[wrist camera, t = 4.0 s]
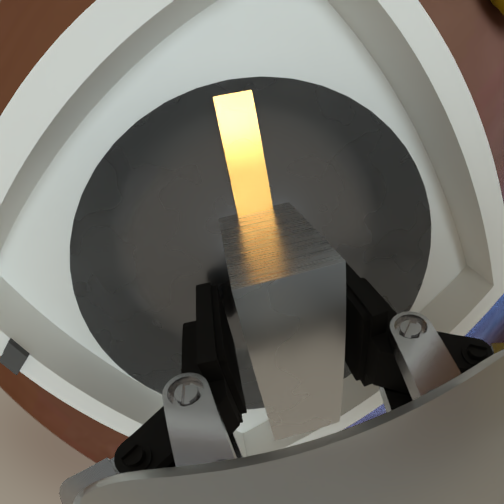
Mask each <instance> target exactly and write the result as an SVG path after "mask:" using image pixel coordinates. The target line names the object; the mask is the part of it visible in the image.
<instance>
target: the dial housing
mask: <svg viewBox="0 0 504 504" xmlns="http://www.w3.org/2000/svg"><path fill="white" fill-rule="evenodd" d="M260 76H263V77H280V78H292V79H297V80H301V81H306V82H310V83H314V84H318V85H322V86H324V87H327V88H329V89H332V90H334V91H337V92H339V93H341V94H343V95H346V96H348V97H350V98H351V99H353V100H355V101H356V102H358V103H359V104H361V105H363V106H364V107H366V108H367V109H369V110H370V111H372V112H373V113H374V114H375V115H376V116H377V117H379V118H380V119H381V120H382V121H383V122H384V123H385V124H386V125H387V126H389V127H390V128H391V130H392V131H393V132H394V133H395V134H396V136H397V137H398V138H399V139H400V141H401V142H402V143H403V144H404V146H405V147H406V148H407V150H408V152H409V154H410V155H411V157H412V159H413V160H414V162H415V164H416V166H417V168H418V170H419V173H420V175H421V178H422V181H423V183H424V186H425V189H426V194H427V198H428V202H429V207H430V217H431V247H430V254H429V259H428V265H427V269H426V272H425V276H424V279H423V283H422V285H421V288H420V290H419V293H418V295H417V297H416V300H415V302H414V304H413V306H412V307H411V309H410V311H411V312H417V313H420V314H422V315H424V316H426V317H427V318H428V319H429V321H430V322H431V324H432V325H433V327H434V328H435V330H436V331H438V332H444V333H449V334H454V335H460V336H465V335H466V334H467V333H468V332H469V331H470V330H471V329H472V328H473V327H474V326H475V325H476V324H477V323H478V322H479V321H480V319H481V318H482V317H483V316H484V315H485V314H486V313H487V312H488V311H489V310H490V309H491V307H492V306H493V305H494V304H495V303H496V302H497V300H498V299H499V298H500V297H501V296H502V295H503V293H504V204H503V199H502V194H501V189H500V184H499V180H498V176H497V172H496V168H495V164H494V160H493V157H492V153H491V150H490V146H489V143H488V140H487V137H486V134H485V131H484V128H483V125H482V122H481V119H480V117H479V114H478V111H477V109H476V106H475V104H474V101H473V99H472V96H471V94H470V92H469V89H468V87H467V85H466V83H465V81H464V78H463V76H462V74H461V72H460V70H459V68H458V66H457V64H456V62H455V60H454V58H453V56H452V54H451V52H450V51H449V49H448V47H447V45H446V43H445V42H444V40H443V38H442V36H441V35H440V33H439V31H438V30H437V28H436V27H435V25H434V23H433V22H432V20H431V19H430V17H429V16H428V14H427V13H426V11H425V10H424V8H423V7H422V5H421V4H420V2H419V1H418V0H96V1H95V2H94V3H93V4H92V5H91V6H90V7H89V8H88V9H86V10H85V11H84V12H83V13H82V14H81V15H80V16H79V17H78V18H77V19H76V20H75V21H74V22H73V23H72V24H71V25H70V26H69V27H68V28H67V29H66V30H65V31H64V32H63V34H62V35H61V36H60V37H59V38H58V39H57V40H56V41H55V42H54V44H53V45H52V46H51V47H50V48H49V49H48V50H47V52H46V53H45V54H44V55H43V56H42V58H41V59H40V60H39V61H38V63H37V64H36V65H35V67H34V68H33V69H32V70H31V72H30V73H29V74H28V76H27V77H26V78H25V80H24V81H23V83H22V84H21V85H20V87H19V88H18V90H17V91H16V93H15V94H14V96H13V97H12V99H11V100H10V102H9V103H8V105H7V107H6V108H5V110H4V111H3V113H2V115H1V116H0V356H1V358H0V362H1V363H2V364H3V365H4V366H6V367H7V368H8V369H9V370H11V371H12V372H13V373H14V374H16V375H17V374H18V372H19V371H20V372H22V373H23V374H24V375H26V376H27V377H28V378H30V379H31V380H32V381H34V382H35V383H37V384H38V385H39V386H41V387H42V388H44V389H45V390H47V391H48V392H50V393H51V394H53V395H54V396H56V397H57V398H59V399H60V400H62V401H64V402H65V403H67V404H68V405H70V406H72V407H73V408H75V409H77V410H79V411H80V412H82V413H84V414H85V415H87V416H89V417H91V418H93V419H95V420H96V421H98V422H100V423H102V424H104V425H106V426H108V427H110V428H112V429H114V430H116V431H118V432H120V433H122V434H124V435H126V436H128V437H130V436H131V435H132V434H133V433H134V432H135V431H136V430H138V429H139V428H140V427H141V426H142V425H143V424H144V423H145V422H146V421H147V420H149V419H150V418H151V417H152V416H153V415H154V414H155V413H156V412H157V411H158V410H159V409H160V408H161V407H163V406H164V405H163V399H162V394H160V393H158V392H156V391H154V390H152V389H150V388H148V387H146V386H145V385H143V384H142V383H140V382H139V381H137V380H136V379H134V378H133V377H131V376H130V375H128V374H127V373H126V372H125V371H124V370H123V369H121V368H120V367H119V366H118V365H117V364H116V363H115V362H114V361H113V360H112V359H111V358H110V357H109V356H108V355H107V354H106V353H105V352H104V350H103V349H102V348H101V347H100V345H99V344H98V342H97V341H96V340H95V338H94V337H93V335H92V334H91V332H90V331H89V329H88V327H87V325H86V323H85V321H84V319H83V317H82V315H81V312H80V310H79V307H78V304H77V301H76V297H75V294H74V290H73V285H72V279H71V273H70V240H71V233H72V227H73V221H74V217H75V214H76V210H77V207H78V204H79V201H80V198H81V195H82V193H83V191H84V189H85V187H86V185H87V183H88V181H89V179H90V177H91V175H92V173H93V172H94V170H95V168H96V166H97V165H98V164H99V162H100V161H101V160H102V158H103V157H104V156H105V154H106V153H107V152H108V150H109V149H110V148H111V146H112V145H113V144H114V143H115V142H116V141H117V140H118V139H119V138H120V137H121V136H122V135H123V134H124V133H125V132H126V131H127V130H128V129H129V128H130V127H131V126H133V125H134V124H135V123H136V122H137V121H138V120H140V119H141V118H142V117H144V116H145V115H147V114H148V113H150V112H151V111H153V110H154V109H156V108H157V107H159V106H160V105H162V104H163V103H165V102H167V101H169V100H171V99H173V98H175V97H177V96H180V95H182V94H184V93H186V92H189V91H191V90H193V89H195V88H199V87H202V86H206V85H209V84H213V83H217V82H221V81H225V80H229V79H238V78H248V77H260ZM382 404H383V400H382V397H381V394H380V391H379V386H376V385H373V384H370V385H368V386H365V387H364V386H363V384H362V382H361V380H358V381H356V380H355V378H354V377H353V375H352V374H350V375H349V376H347V377H346V378H344V379H343V392H342V404H341V414H340V422H337V423H334V424H331V425H328V426H325V427H322V428H319V429H316V430H312V431H309V432H306V433H302V434H299V435H295V436H291V437H288V438H284V439H280V440H276V441H275V439H274V436H273V433H272V429H271V426H270V423H269V420H268V416H267V413H266V410H265V408H258V409H247V413H244V414H242V419H243V422H242V423H240V426H239V427H238V428H237V429H236V430H235V431H234V432H233V433H234V435H235V438H236V440H237V443H238V445H239V448H240V450H241V453H242V455H243V457H247V456H252V455H257V454H261V453H266V452H270V451H274V450H278V449H282V448H286V447H290V446H294V445H297V444H301V443H304V442H308V441H311V440H315V439H318V438H321V437H324V436H327V435H330V434H333V433H336V432H339V431H341V430H343V429H345V428H346V427H348V426H350V425H351V424H353V423H354V422H356V421H358V420H359V419H361V418H362V417H364V416H365V415H367V414H369V413H370V412H372V411H373V410H375V409H376V408H377V407H379V406H380V405H382Z"/></svg>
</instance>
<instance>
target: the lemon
mask: <svg viewBox="0 0 504 504" xmlns="http://www.w3.org/2000/svg"><path fill="white" fill-rule="evenodd" d="M491 2H492V4H493V5H494V6H495V7H497V8H498V9H499V11H500V12H501V13H502V14H503V15H504V0H491Z"/></svg>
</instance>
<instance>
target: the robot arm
mask: <svg viewBox="0 0 504 504" xmlns="http://www.w3.org/2000/svg"><path fill="white" fill-rule="evenodd" d="M345 362H346V364H347V366H348V367H349V369H350V371H351V373H352V375H353V377H354V378H355V380H356V381H358V380H361V382H362V384H363V386H364V387H365V386H368V385H370V384H373V385H376V386H379V391H380V394H381V397H382V400H383V403H384V406H385V409H386V412H387V413H385V414H382V415H380V416H378V417H375V418H373V419H371V420H368V421H366V422H363V423H361V424H358V425H355V426H353V427H350V428H347V429H345V430H342V431H339V432H336V433H333V434H330V435H327V436H324V437H321V438H318V439H315V440H311V441H308V442H304V443H301V444H297V445H294V446H290V447H286V448H282V449H278V450H274V451H270V452H266V453H261V454H257V455H252V456H247V457H243V455H242V453H241V450H240V448H239V445H238V443H237V440H236V438H235V435H234V433H233V432H234V431H235V430H236V429H237V428H238V427H239V426H240V423H242V422H243V419H242V414H244V413H247V409H246V404H245V399H244V394H243V388H242V383H241V378H240V372H239V367H238V361H237V355H236V350H235V344H234V340H233V336H232V333H231V330H230V327H229V323H228V320H227V317H226V314H225V310H224V307H223V304H222V300H221V297H220V293H219V290H218V287H217V284H216V285H211V283H210V282H208V283H204V284H199V285H196V321H191V322H186V323H184V324H183V330H182V364H181V374H180V375H177V376H175V377H174V378H172V379H171V380H169V381H168V383H167V384H166V385H165V387H164V389H163V392H162V399H163V405H164V406H163V407H161V408H160V409H159V410H158V411H157V412H156V413H155V414H154V415H153V416H152V417H151V418H150V419H149V420H147V421H146V422H145V423H144V424H143V425H142V426H141V427H140V428H139V429H138V430H136V431H135V432H134V433H133V434H132V435H131V436H130V437H129V438H128V439H126V440H125V441H124V442H123V443H122V444H121V445H120V446H119V447H118V449H117V451H116V453H115V457H114V458H112V459H111V460H110V459H108V458H106V459H104V460H102V461H100V462H98V463H96V464H95V465H93V466H91V467H89V468H87V469H85V470H83V471H82V472H80V473H78V474H76V475H74V476H72V477H70V478H68V479H66V480H65V481H64V482H63V483H62V485H61V487H60V492H59V494H60V499H61V501H62V504H504V343H492V344H491V346H489V345H488V344H487V343H486V342H484V341H483V340H480V339H476V338H471V337H465V336H460V335H454V334H449V333H444V332H438V331H436V330H435V328H434V327H433V325H432V324H431V322H430V321H429V319H428V318H427V317H426V316H424V315H422V314H420V313H417V312H411V311H408V312H402V313H399V314H397V313H396V312H395V311H394V310H393V309H392V308H391V306H390V305H389V304H388V303H387V302H386V301H385V300H384V298H383V297H382V296H381V295H380V294H379V293H378V292H377V291H376V289H375V288H374V287H373V286H372V285H371V284H370V283H369V282H368V281H367V280H366V279H365V278H360V277H359V276H358V275H357V273H356V272H355V271H354V270H353V269H352V268H351V267H350V266H349V265H348V264H347V262H346V337H345Z"/></svg>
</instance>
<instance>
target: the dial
mask: <svg viewBox="0 0 504 504" xmlns="http://www.w3.org/2000/svg"><path fill="white" fill-rule="evenodd" d="M430 247H431V217H430V207H429V202H428V198H427V194H426V189H425V186H424V183H423V181H422V178H421V175H420V173H419V170H418V168H417V166H416V164H415V162H414V160H413V159H412V157H411V155H410V154H409V152H408V150H407V148H406V147H405V146H404V144H403V143H402V142H401V141H400V139H399V138H398V137H397V136H396V134H395V133H394V132H393V131H392V130H391V128H390V127H389V126H387V125H386V124H385V123H384V122H383V121H382V120H381V119H380V118H379V117H377V116H376V115H375V114H374V113H373V112H372V111H370V110H369V109H367V108H366V107H364V106H363V105H361V104H359V103H358V102H356V101H355V100H353V99H351V98H350V97H348V96H346V95H343V94H341V93H339V92H337V91H334V90H332V89H329V88H327V87H324V86H322V85H318V84H314V83H310V82H306V81H301V80H297V79H292V78H280V77H263V76H260V77H248V78H238V79H229V80H225V81H221V82H217V83H213V84H209V85H206V86H202V87H199V88H195V89H193V90H191V91H189V92H186V93H184V94H182V95H180V96H177V97H175V98H173V99H171V100H169V101H167V102H165V103H163V104H162V105H160V106H159V107H157V108H156V109H154V110H153V111H151V112H150V113H148V114H147V115H145V116H144V117H142V118H141V119H140V120H138V121H137V122H136V123H135V124H134V125H133V126H131V127H130V128H129V129H128V130H127V131H126V132H125V133H124V134H123V135H122V136H121V137H120V138H119V139H118V140H117V141H116V142H115V143H114V144H113V145H112V146H111V148H110V149H109V150H108V152H107V153H106V154H105V156H104V157H103V158H102V160H101V161H100V162H99V164H98V165H97V166H96V168H95V170H94V172H93V173H92V175H91V177H90V179H89V181H88V183H87V185H86V187H85V189H84V191H83V193H82V195H81V198H80V201H79V204H78V207H77V210H76V214H75V217H74V221H73V227H72V233H71V240H70V273H71V279H72V285H73V290H74V294H75V297H76V301H77V304H78V307H79V310H80V312H81V315H82V317H83V319H84V321H85V323H86V325H87V327H88V329H89V331H90V332H91V334H92V335H93V337H94V338H95V340H96V341H97V342H98V344H99V345H100V347H101V348H102V349H103V350H104V352H105V353H106V354H107V355H108V356H109V357H110V358H111V359H112V360H113V361H114V362H115V363H116V364H117V365H118V366H119V367H120V368H121V369H123V370H124V371H125V372H126V373H127V374H128V375H130V376H131V377H133V378H134V379H136V380H137V381H139V382H140V383H142V384H143V385H145V386H146V387H148V388H150V389H152V390H154V391H156V392H158V393H160V394H162V392H163V389H164V387H165V385H166V384H167V383H168V381H169V380H171V379H172V378H174V377H175V376H177V375H180V374H181V364H182V330H183V324H184V323H186V322H191V321H196V285H199V284H204V283H208V282H210V283H211V285H216V284H217V287H218V290H219V293H220V297H221V300H222V304H223V307H224V310H225V314H226V317H227V320H228V323H229V327H230V330H231V333H232V336H233V340H234V344H235V350H236V355H237V361H238V367H239V372H240V378H241V383H242V388H243V394H244V399H245V404H246V409H258V408H265V410H266V413H267V416H268V420H269V423H270V426H271V429H272V433H273V436H274V439H275V441H276V440H280V439H284V438H288V437H291V436H295V435H299V434H302V433H306V432H309V431H312V430H316V429H319V428H322V427H325V426H328V425H331V424H334V423H337V422H340V414H341V404H342V392H343V379H344V378H346V377H347V376H349V375H350V374H352V373H351V371H350V369H349V367H348V366H347V364H346V362H345V337H346V262H347V264H348V265H349V266H350V267H351V268H352V269H353V270H354V271H355V272H356V273H357V275H358V276H359V277H360V278H365V279H366V280H367V281H368V282H369V283H370V284H371V285H372V286H373V287H374V288H375V289H376V291H377V292H378V293H379V294H380V295H381V296H382V297H383V298H384V300H385V301H386V302H387V303H388V304H389V305H390V306H391V308H392V309H393V310H394V311H395V312H396V313H397V314H399V313H402V312H408V311H410V309H411V307H412V306H413V304H414V302H415V300H416V297H417V295H418V293H419V290H420V288H421V285H422V283H423V279H424V276H425V272H426V269H427V265H428V259H429V254H430Z"/></svg>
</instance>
